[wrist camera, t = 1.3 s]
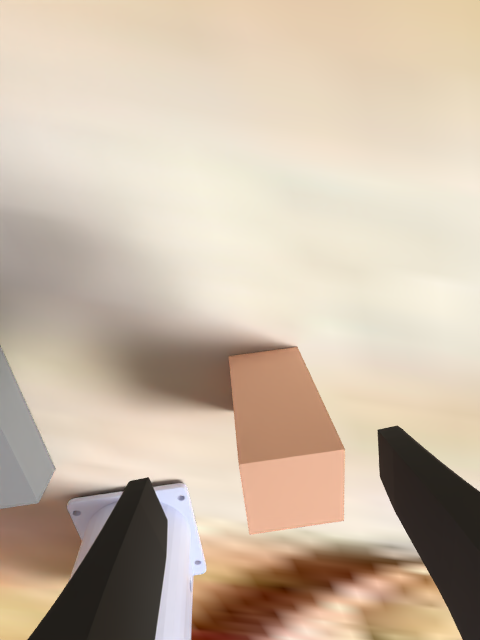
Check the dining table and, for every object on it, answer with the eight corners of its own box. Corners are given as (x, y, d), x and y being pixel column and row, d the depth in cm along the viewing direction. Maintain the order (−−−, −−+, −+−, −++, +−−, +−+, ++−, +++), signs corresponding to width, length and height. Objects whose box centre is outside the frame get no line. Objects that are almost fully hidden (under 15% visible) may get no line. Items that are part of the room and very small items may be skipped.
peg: (300, 402, 22) (343, 520, 15) (236, 411, 22) (249, 534, 15) (297, 346, 21) (344, 449, 13) (228, 356, 21) (238, 464, 13)
